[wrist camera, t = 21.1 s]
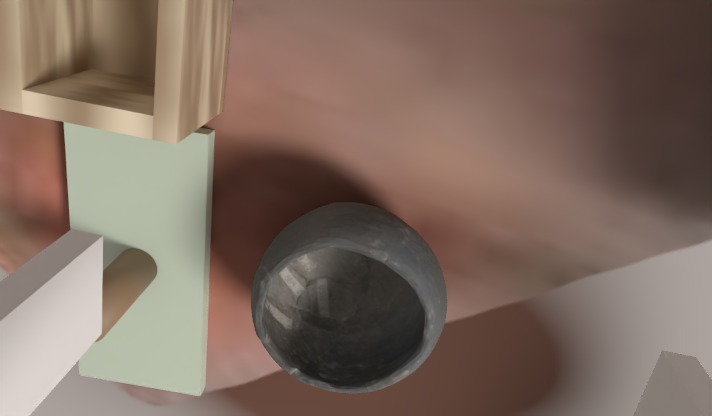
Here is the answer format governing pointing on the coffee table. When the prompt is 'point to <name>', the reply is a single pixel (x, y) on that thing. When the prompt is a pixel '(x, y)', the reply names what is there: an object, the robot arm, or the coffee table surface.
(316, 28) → the coffee table surface
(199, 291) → the lid
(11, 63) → the toolbox
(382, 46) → the coffee table surface
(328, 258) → the bowl
